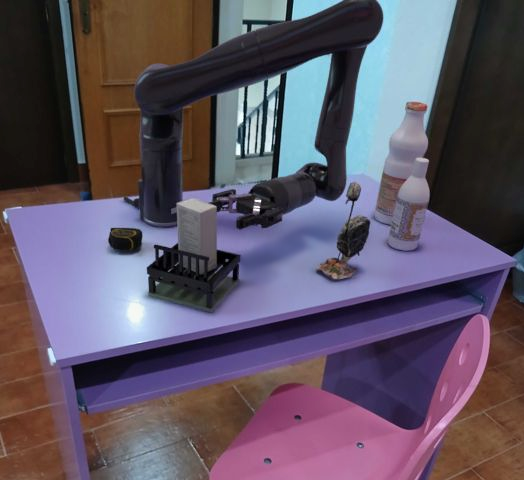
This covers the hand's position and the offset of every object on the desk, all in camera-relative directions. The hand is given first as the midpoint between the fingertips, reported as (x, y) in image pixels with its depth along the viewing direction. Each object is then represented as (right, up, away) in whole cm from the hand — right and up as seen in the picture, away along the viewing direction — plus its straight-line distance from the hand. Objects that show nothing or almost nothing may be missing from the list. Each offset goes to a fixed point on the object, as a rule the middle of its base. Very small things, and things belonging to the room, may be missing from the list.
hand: (221, 217), depth 104 cm
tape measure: (-22, -3, +16) cm, 27 cm away
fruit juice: (+41, +9, +40) cm, 58 cm away
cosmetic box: (-5, -9, +1) cm, 10 cm away
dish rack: (-5, -13, +3) cm, 14 cm away
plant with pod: (+24, -8, +14) cm, 29 cm away
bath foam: (+41, 0, +27) cm, 49 cm away
